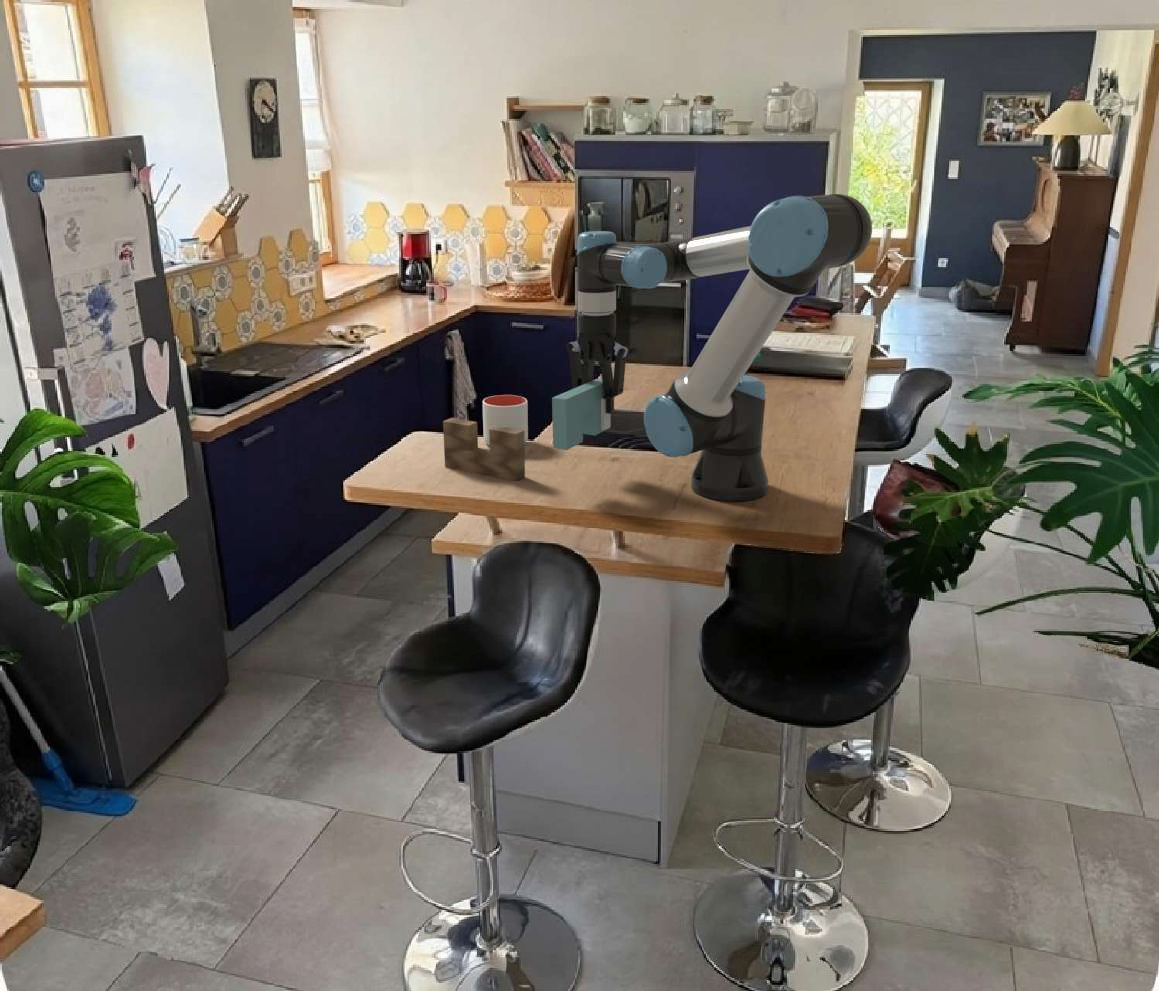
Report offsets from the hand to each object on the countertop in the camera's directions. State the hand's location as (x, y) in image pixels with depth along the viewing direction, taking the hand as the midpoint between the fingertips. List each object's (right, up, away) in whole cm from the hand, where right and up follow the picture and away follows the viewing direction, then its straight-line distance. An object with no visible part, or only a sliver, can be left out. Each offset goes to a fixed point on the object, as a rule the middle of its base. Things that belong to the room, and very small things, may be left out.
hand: (597, 426), depth 209 cm
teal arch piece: (-3, -2, -5) cm, 7 cm away
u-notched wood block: (-24, -9, +4) cm, 26 cm away
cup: (-20, -2, +22) cm, 30 cm away
